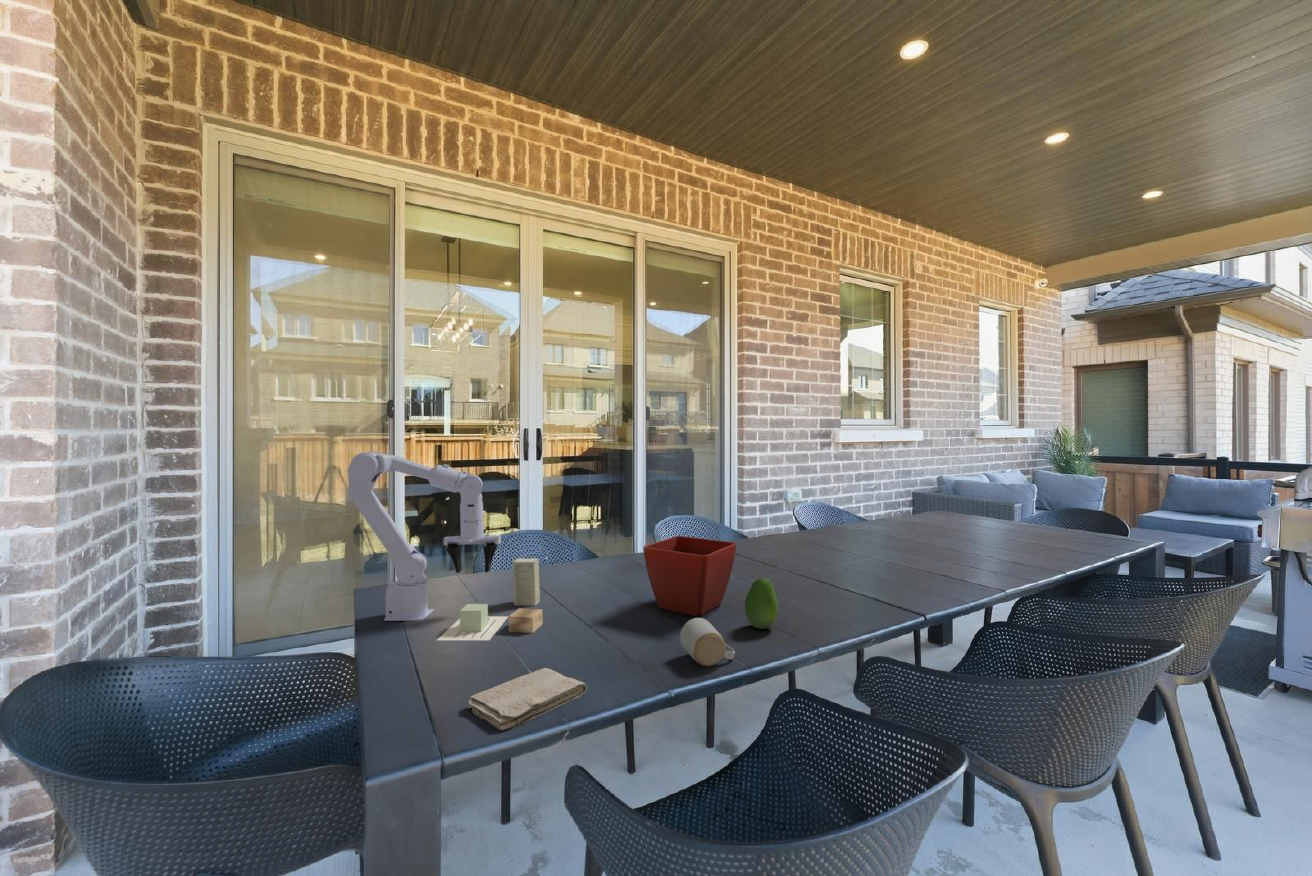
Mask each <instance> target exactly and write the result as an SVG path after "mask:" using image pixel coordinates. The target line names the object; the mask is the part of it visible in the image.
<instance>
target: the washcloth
mask: <svg viewBox="0 0 1312 876" xmlns="http://www.w3.org/2000/svg"><path fill="white" fill-rule="evenodd" d="M587 690H588V685H587V683H585V682H584V681H580V680H578V679H576V678H573V677H567V676H566V675H565V676H564V675H563V674H562V673H560V672H558V671H555V670H553V669H551V668H547V667H543V668H541V669H538V670H534V671H532V672H531V673H528V674H524V675H521V676H518V677H516V678H514V679H511V680H507V681H505V682H502V683H501V684H498V685H496V686H494V687H490V688H488V689H486V690H483V691H480V692H477V693H475V694H473V695H471V696H470V697H469V698H468V707H467V708H469V709H470V708H472V709H470V710H471V712H472V714H473V715H475V716H477V717H478V716H479V717H478V718H480V719H482V720H483V719H484V720H483V721H485V720H486V722H487V723H488V724H489V725H491V726H493V727H494V728H496V729H497V730H499V731H504V730H508V729H511V728H516V727H517V726H520V725H522V724H524V723H527V722H530V721H532V720H534V719H536V718H538V717H540V716H542V715H544V714H546V713H548V711H549V712H550V711H553V710H555V709H556V708H559V707H561V706H562V705H565V704H568V703H569V702H572V701H574V700H575V699H578V698H580V697H582V696H584V695H585V693H586V692H587ZM469 709H468V710H469ZM537 716H538V717H537Z"/></svg>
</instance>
